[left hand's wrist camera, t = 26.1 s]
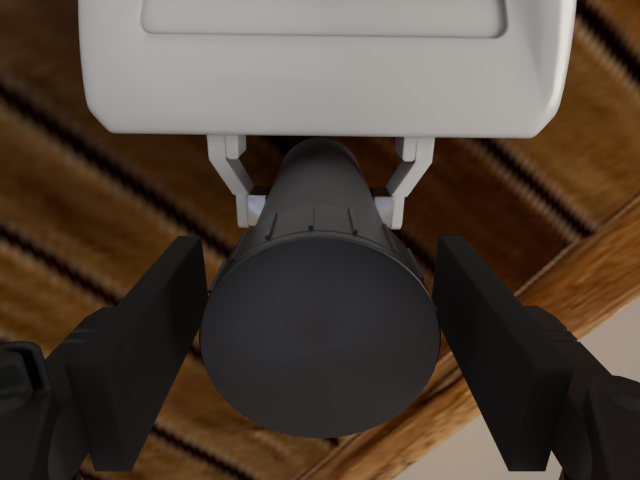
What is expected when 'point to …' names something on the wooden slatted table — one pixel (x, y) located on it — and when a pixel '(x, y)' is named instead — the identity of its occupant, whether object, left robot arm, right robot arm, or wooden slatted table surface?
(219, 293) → the lid
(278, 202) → the jar
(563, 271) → the wooden slatted table surface
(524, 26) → the right robot arm
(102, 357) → the left robot arm
